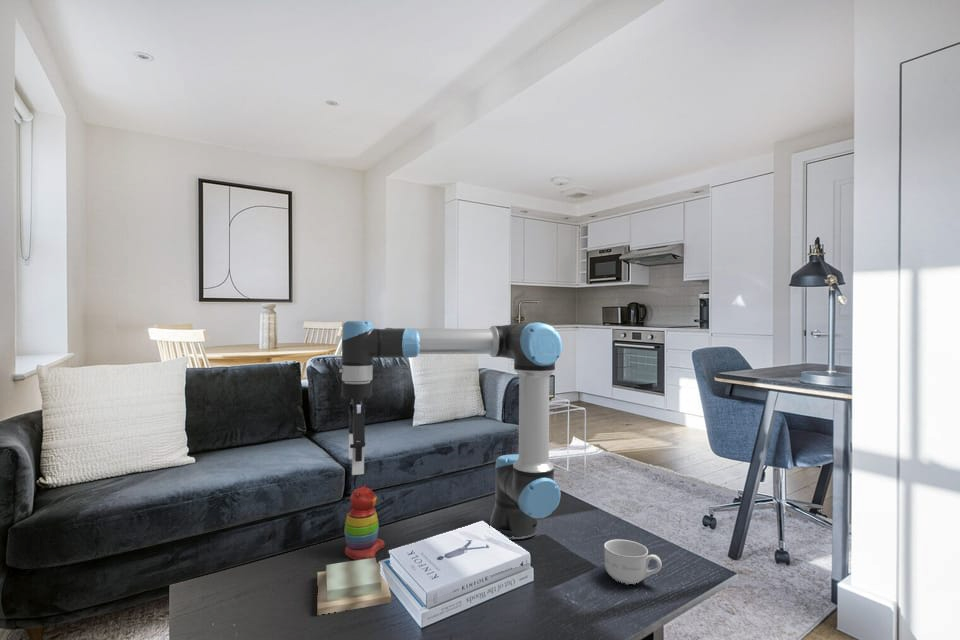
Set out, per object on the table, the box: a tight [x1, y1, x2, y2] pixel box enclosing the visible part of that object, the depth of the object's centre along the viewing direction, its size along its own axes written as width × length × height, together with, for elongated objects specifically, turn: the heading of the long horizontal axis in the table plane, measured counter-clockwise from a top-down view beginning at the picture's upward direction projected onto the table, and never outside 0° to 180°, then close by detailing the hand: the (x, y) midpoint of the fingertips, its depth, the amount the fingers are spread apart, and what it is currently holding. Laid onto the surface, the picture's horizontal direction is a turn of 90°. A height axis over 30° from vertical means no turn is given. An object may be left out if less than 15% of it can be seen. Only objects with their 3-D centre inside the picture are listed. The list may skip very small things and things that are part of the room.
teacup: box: [603, 538, 663, 585], centre depth 119 cm, size 14×11×8 cm
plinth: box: [316, 557, 392, 617], centre depth 114 cm, size 16×16×4 cm
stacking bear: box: [343, 484, 386, 561], centre depth 133 cm, size 11×10×18 cm
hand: (355, 466), depth 120 cm, fingers open, 13 cm apart
